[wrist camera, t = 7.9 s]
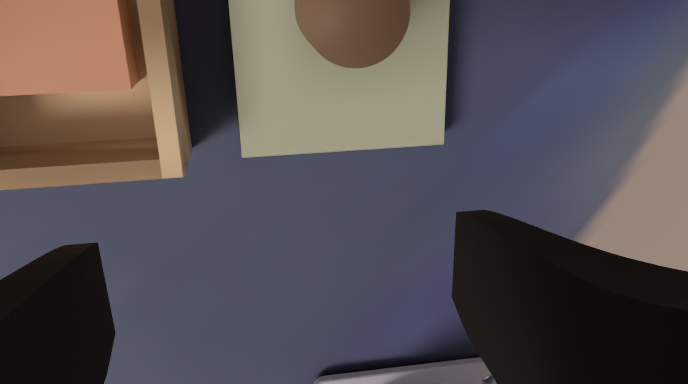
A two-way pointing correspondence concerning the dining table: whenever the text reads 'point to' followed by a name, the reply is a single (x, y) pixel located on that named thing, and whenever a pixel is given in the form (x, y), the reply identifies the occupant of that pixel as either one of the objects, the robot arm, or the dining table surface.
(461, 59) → the dining table surface
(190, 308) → the dining table surface
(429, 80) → the lid
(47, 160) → the box
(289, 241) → the dining table surface
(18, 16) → the block
